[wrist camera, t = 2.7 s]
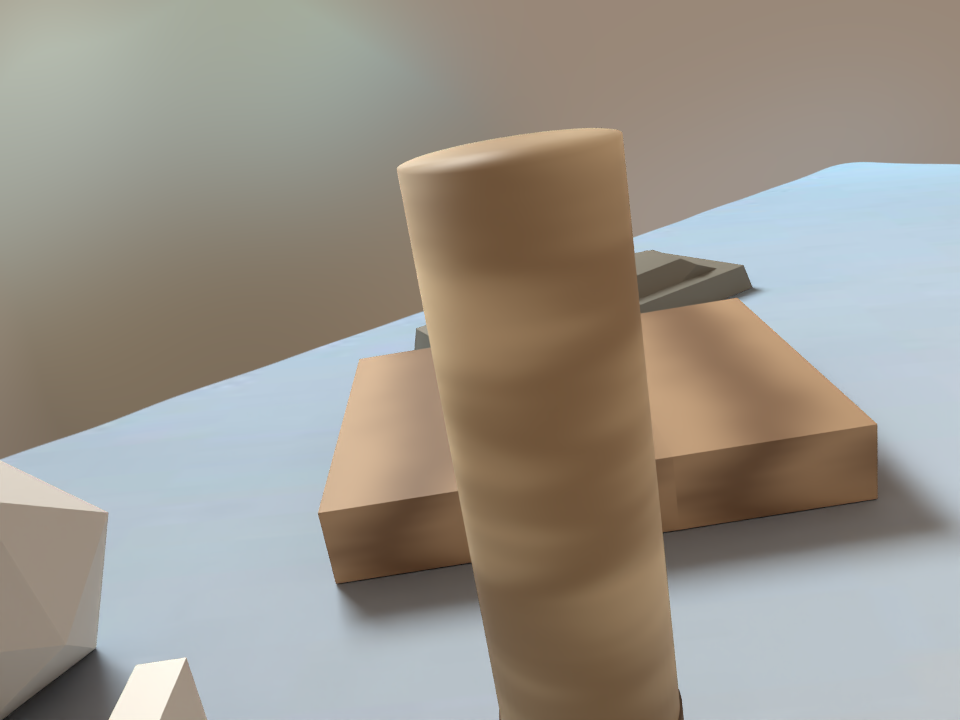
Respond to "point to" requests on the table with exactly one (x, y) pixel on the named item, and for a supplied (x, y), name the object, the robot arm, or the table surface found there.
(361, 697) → the table surface
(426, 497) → the board
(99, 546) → the die
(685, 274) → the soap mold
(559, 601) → the oak leg
